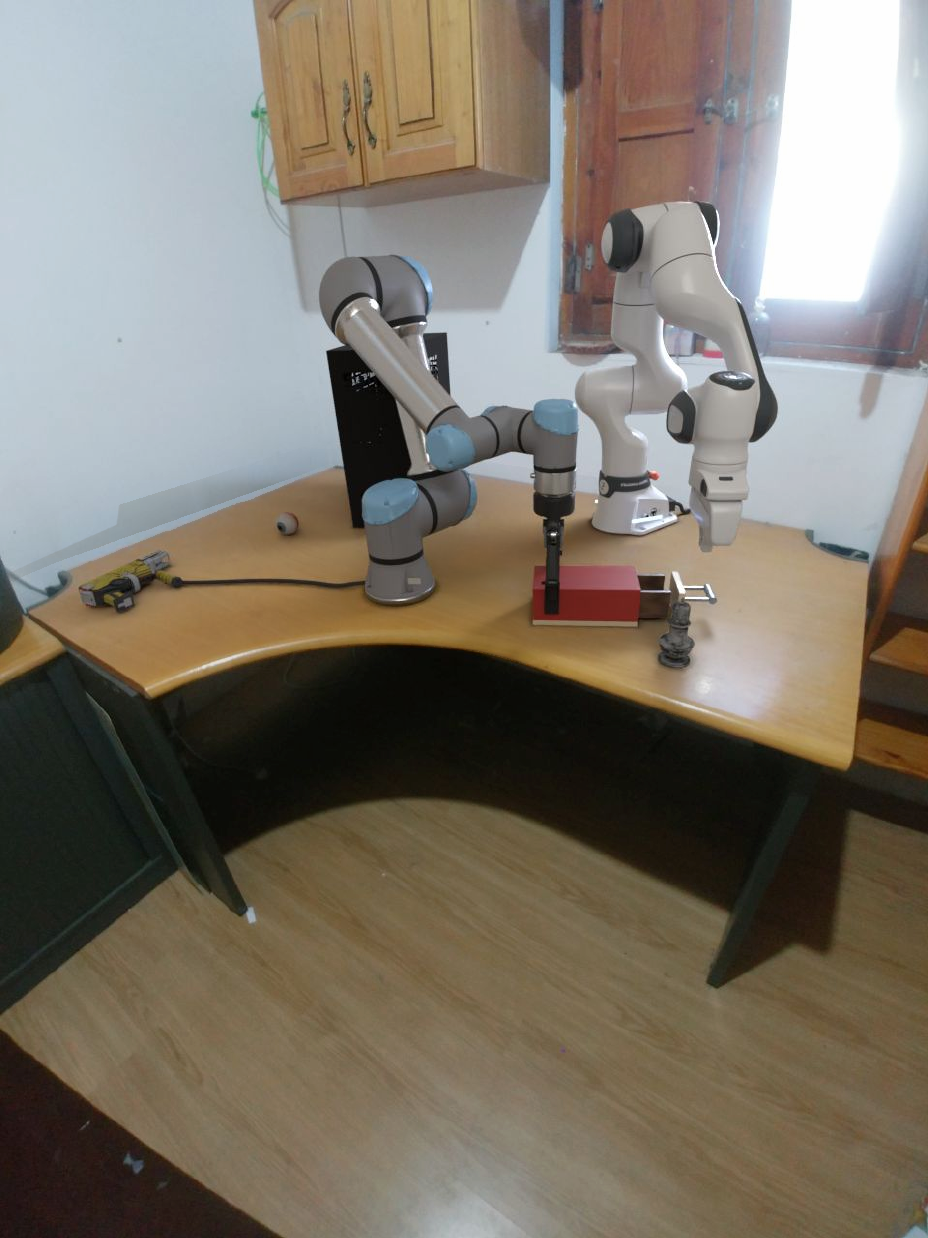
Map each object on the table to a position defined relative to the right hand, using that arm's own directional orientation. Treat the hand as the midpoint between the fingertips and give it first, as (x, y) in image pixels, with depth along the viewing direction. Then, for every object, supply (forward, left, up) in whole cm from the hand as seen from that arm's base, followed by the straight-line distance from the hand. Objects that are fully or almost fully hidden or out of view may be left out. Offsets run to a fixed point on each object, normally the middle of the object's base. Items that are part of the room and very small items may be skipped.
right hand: (704, 549), depth 110 cm
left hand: (+23, -15, -11) cm, 30 cm away
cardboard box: (+26, -91, -14) cm, 96 cm away
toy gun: (+98, -70, -14) cm, 121 cm away
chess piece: (+14, +10, -14) cm, 22 cm away
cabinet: (+18, -11, -14) cm, 25 cm away
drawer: (+8, -5, -13) cm, 16 cm away
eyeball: (+62, -87, -14) cm, 108 cm away
